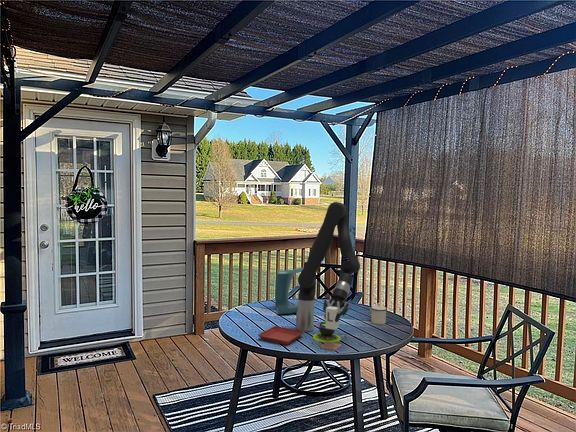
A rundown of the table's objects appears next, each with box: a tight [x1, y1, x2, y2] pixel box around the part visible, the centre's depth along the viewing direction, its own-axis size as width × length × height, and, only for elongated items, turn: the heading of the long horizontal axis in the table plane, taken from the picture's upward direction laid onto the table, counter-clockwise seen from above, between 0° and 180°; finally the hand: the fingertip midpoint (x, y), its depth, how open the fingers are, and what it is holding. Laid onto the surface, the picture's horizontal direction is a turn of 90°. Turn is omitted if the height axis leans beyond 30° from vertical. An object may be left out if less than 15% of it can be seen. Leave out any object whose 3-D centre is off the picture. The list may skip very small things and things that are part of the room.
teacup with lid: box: [369, 302, 387, 325], centre depth 253 cm, size 12×9×12 cm
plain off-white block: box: [325, 305, 340, 331], centre depth 207 cm, size 5×5×10 cm
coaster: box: [320, 341, 343, 352], centre depth 208 cm, size 8×8×1 cm
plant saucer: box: [257, 325, 304, 346], centre depth 218 cm, size 18×18×3 cm
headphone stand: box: [274, 267, 316, 315], centre depth 273 cm, size 26×28×28 cm
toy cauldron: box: [312, 317, 342, 343], centre depth 221 cm, size 15×15×11 cm
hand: (330, 320), depth 206 cm, fingers closed on plain off-white block, 5 cm apart
